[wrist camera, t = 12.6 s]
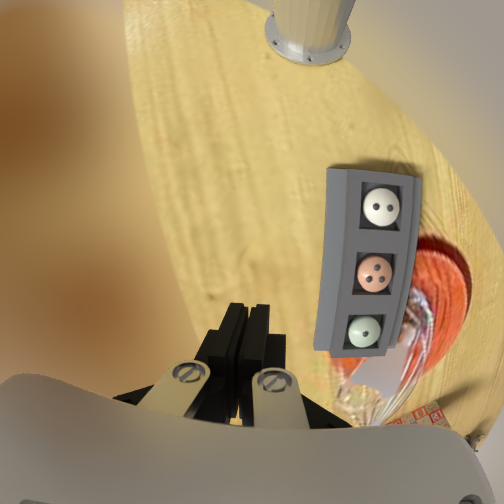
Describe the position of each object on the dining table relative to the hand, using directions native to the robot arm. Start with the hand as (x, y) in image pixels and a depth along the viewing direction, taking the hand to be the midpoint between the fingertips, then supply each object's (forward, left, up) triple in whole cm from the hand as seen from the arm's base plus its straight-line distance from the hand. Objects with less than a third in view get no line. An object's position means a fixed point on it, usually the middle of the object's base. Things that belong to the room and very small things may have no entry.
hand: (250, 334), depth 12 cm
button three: (+5, +14, -25) cm, 29 cm away
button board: (+5, +14, -27) cm, 31 cm away
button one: (+14, +14, -25) cm, 32 cm away
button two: (-4, +14, -25) cm, 29 cm away
